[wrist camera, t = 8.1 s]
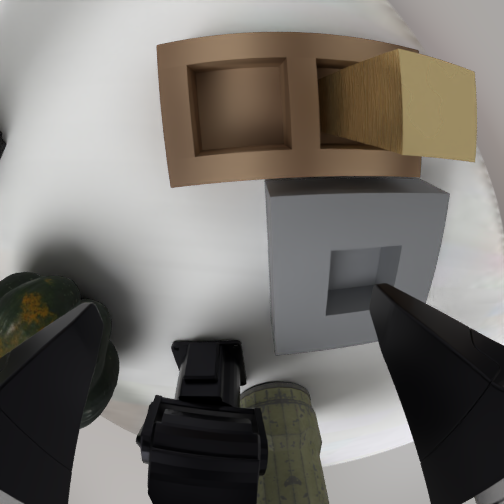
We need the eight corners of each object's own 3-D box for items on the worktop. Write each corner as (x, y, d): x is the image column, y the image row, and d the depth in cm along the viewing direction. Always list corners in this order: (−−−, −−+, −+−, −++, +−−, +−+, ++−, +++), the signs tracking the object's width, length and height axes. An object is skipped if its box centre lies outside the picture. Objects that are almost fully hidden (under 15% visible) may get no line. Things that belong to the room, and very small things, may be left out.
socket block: (397, 305, 24) (415, 333, 20) (271, 321, 24) (275, 355, 21) (419, 178, 19) (449, 193, 15) (264, 180, 19) (270, 196, 15)
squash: (175, 385, 20) (-6, 441, 7) (106, 423, 25) (-4, 454, 12) (109, 244, 25) (-40, 228, 11) (62, 318, 30) (-41, 323, 16)
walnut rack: (388, 58, 15) (418, 50, 11) (390, 164, 18) (420, 177, 15) (173, 58, 15) (156, 45, 11) (184, 173, 18) (170, 187, 15)
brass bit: (369, 133, 16) (475, 162, 7) (319, 131, 16) (402, 154, 7) (367, 83, 15) (474, 71, 6) (317, 80, 15) (398, 48, 6)
